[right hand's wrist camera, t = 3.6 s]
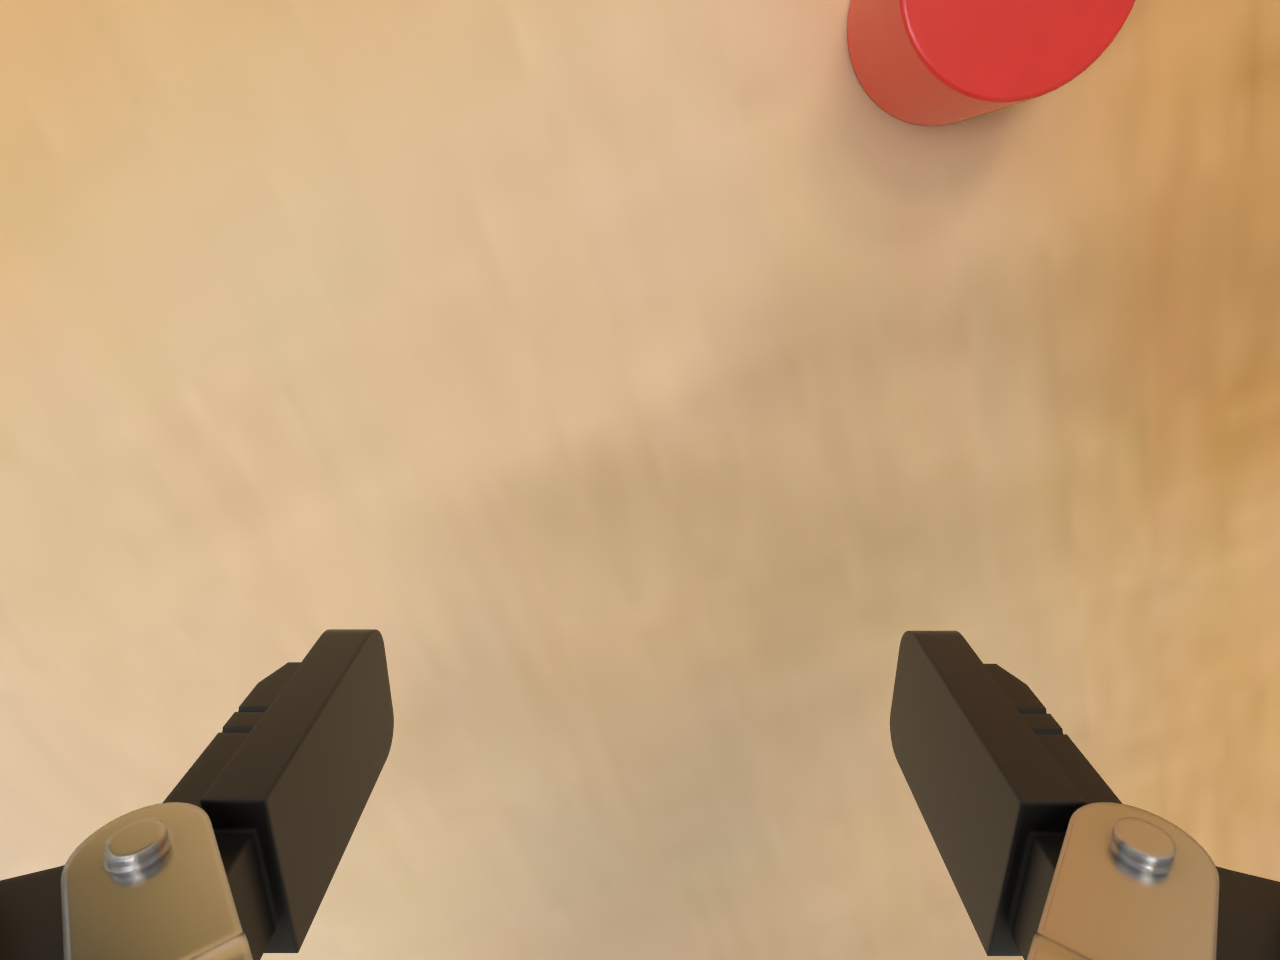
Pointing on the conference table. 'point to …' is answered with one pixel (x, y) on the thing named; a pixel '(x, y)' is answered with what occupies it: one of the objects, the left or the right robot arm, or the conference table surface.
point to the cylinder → (973, 51)
